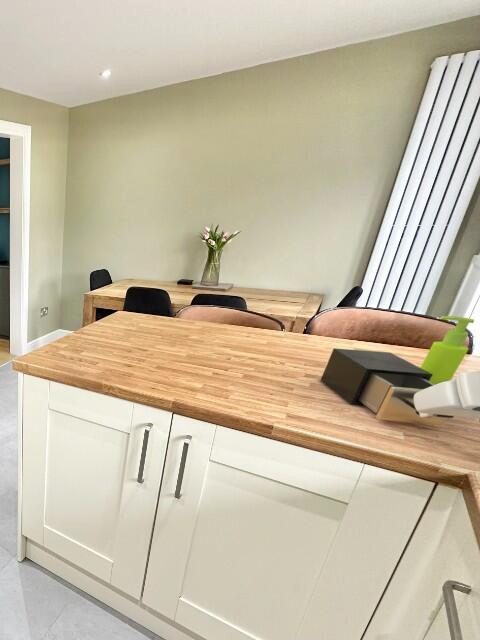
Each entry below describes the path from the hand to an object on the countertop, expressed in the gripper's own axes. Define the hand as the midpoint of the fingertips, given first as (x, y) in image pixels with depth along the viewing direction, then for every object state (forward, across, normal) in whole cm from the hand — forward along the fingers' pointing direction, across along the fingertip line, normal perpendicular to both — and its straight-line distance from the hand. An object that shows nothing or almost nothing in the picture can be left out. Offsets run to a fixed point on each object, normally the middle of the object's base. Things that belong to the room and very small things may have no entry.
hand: (453, 417), depth 79 cm
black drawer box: (+22, 0, -12) cm, 26 cm away
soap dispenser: (+27, -16, -17) cm, 35 cm away
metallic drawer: (+13, 0, -5) cm, 14 cm away
